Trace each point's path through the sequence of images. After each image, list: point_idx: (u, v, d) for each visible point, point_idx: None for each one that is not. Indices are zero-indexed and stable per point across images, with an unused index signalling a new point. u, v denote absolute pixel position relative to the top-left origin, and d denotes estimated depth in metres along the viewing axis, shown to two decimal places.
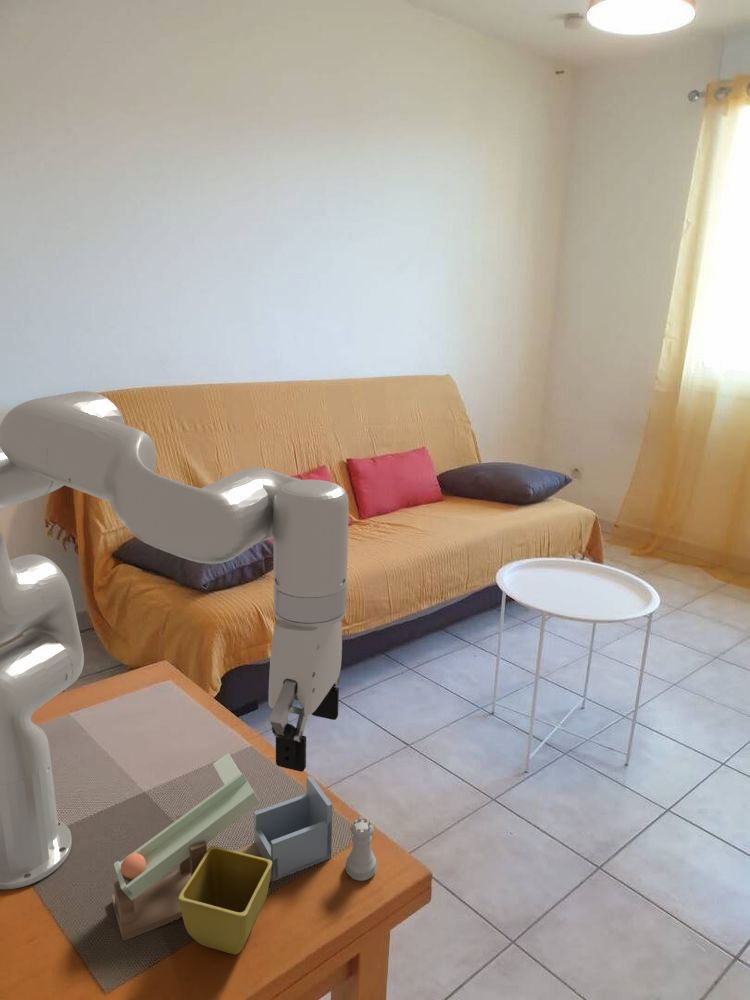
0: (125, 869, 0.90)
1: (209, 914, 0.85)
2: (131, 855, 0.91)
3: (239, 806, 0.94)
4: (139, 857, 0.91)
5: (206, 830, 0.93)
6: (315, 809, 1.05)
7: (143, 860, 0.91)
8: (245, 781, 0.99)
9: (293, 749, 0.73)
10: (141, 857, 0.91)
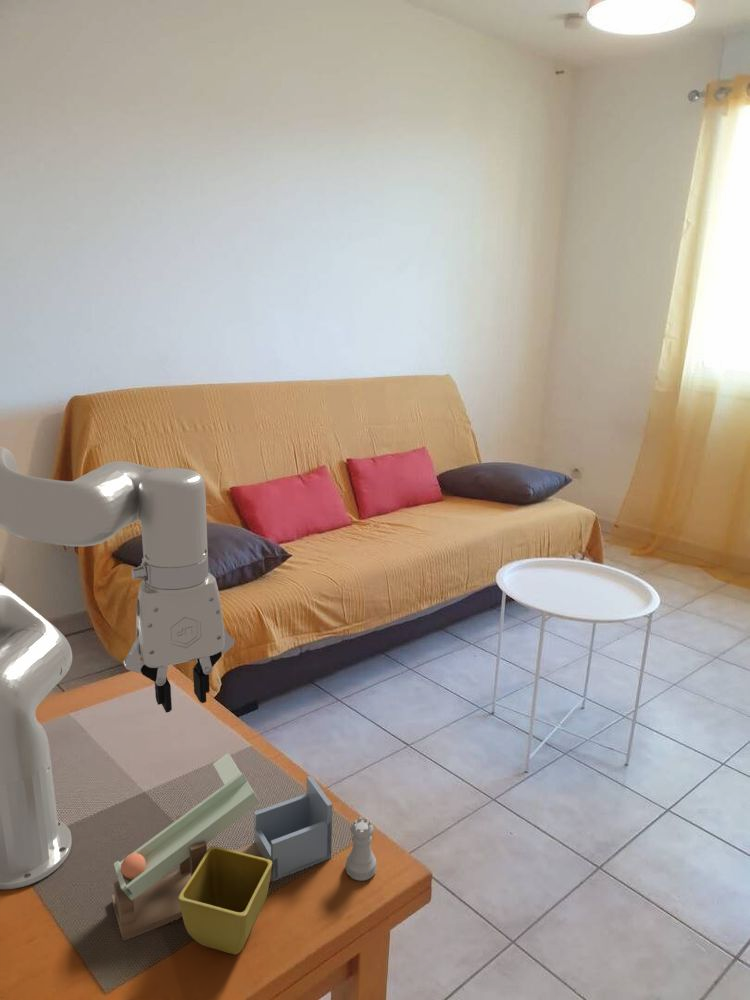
0: (125, 869, 0.90)
1: (209, 914, 0.85)
2: (131, 855, 0.91)
3: (239, 806, 0.94)
4: (139, 857, 0.91)
5: (206, 830, 0.93)
6: (315, 809, 1.05)
7: (143, 860, 0.91)
8: (245, 781, 0.99)
9: None
10: (141, 857, 0.91)
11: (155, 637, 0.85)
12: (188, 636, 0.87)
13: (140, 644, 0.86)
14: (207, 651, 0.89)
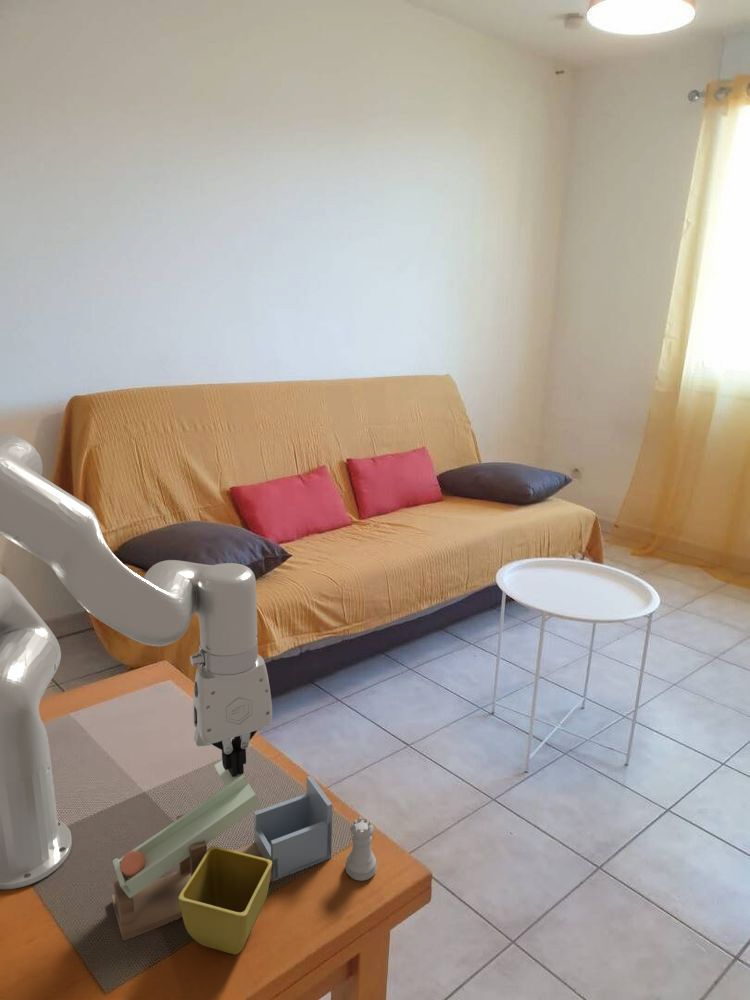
0: (125, 866, 0.90)
1: (209, 914, 0.85)
2: (131, 852, 0.91)
3: (241, 807, 0.94)
4: (139, 855, 0.91)
5: (207, 830, 0.93)
6: (315, 809, 1.05)
7: (143, 858, 0.91)
8: (247, 783, 0.99)
9: None
10: (141, 855, 0.91)
11: (212, 717, 0.94)
12: (241, 714, 0.97)
13: (198, 722, 0.95)
14: (257, 726, 0.98)
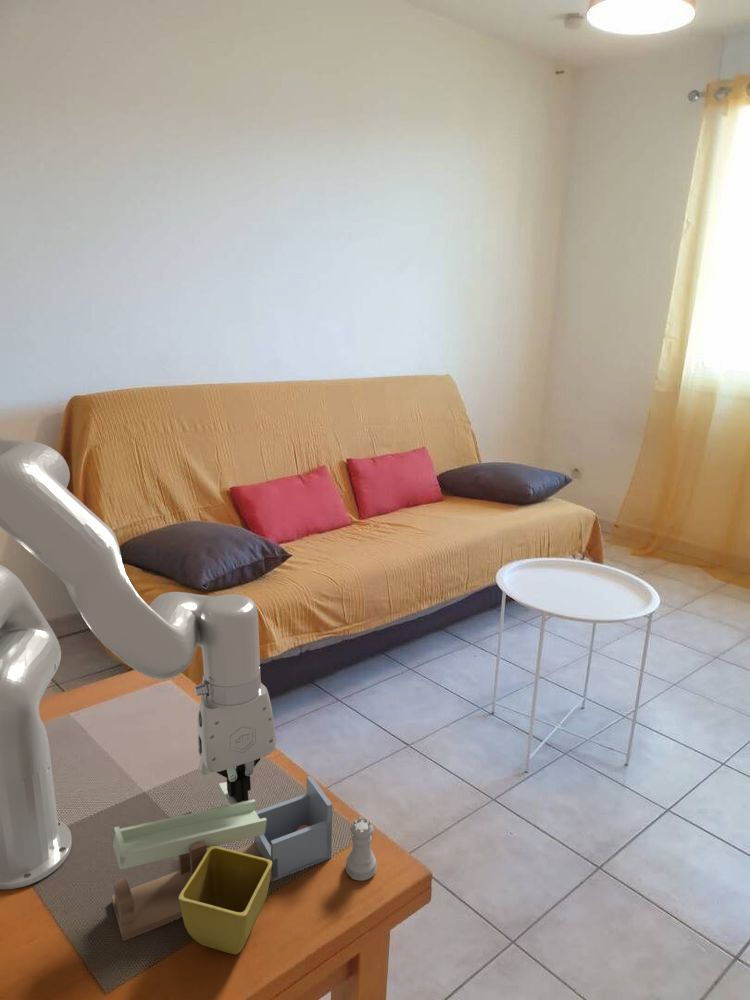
0: None
1: (209, 914, 0.85)
2: None
3: (249, 827, 0.96)
4: None
5: (214, 834, 0.93)
6: (315, 809, 1.05)
7: None
8: (253, 809, 1.01)
9: None
10: None
11: (216, 746, 0.96)
12: (244, 742, 0.98)
13: (203, 752, 0.97)
14: (261, 753, 1.00)
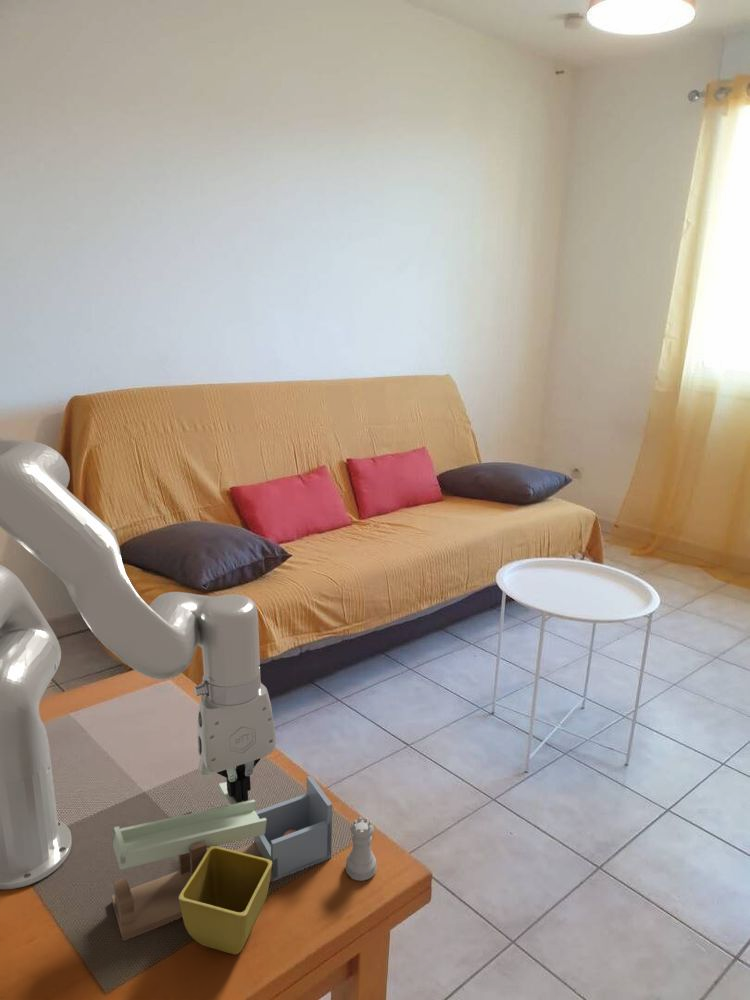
0: None
1: (209, 914, 0.85)
2: None
3: (249, 827, 0.96)
4: None
5: (214, 834, 0.93)
6: (315, 809, 1.05)
7: None
8: (253, 810, 1.01)
9: None
10: None
11: (216, 746, 0.96)
12: (244, 742, 0.98)
13: (202, 752, 0.97)
14: (261, 753, 1.00)
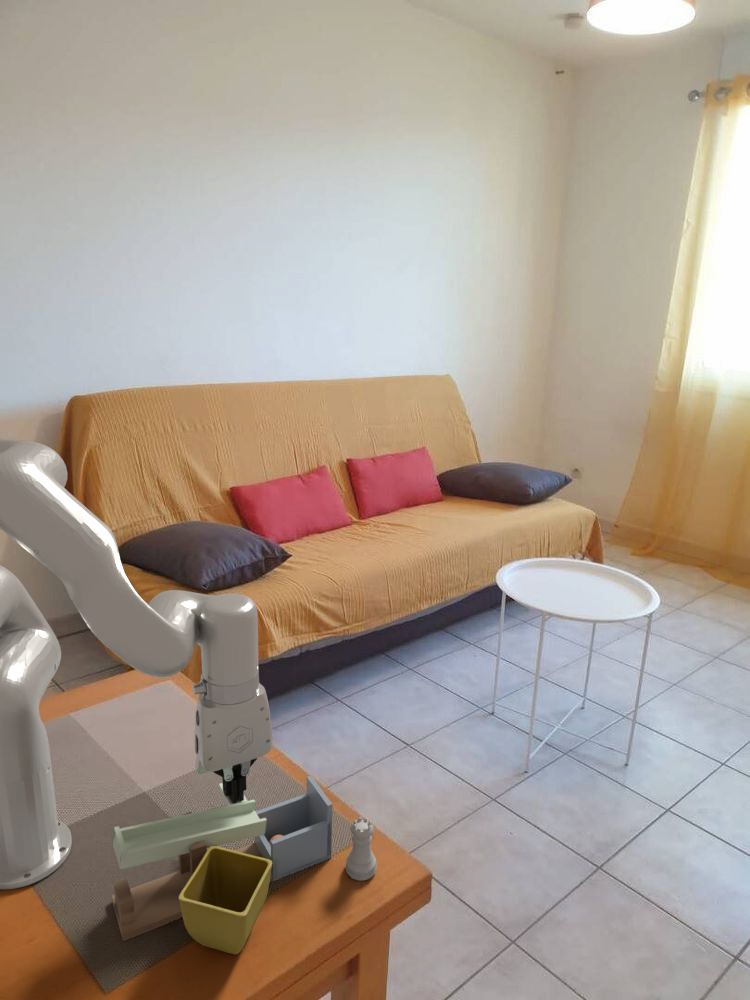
0: None
1: (209, 914, 0.85)
2: None
3: (249, 827, 0.96)
4: None
5: (214, 834, 0.93)
6: (315, 809, 1.05)
7: None
8: (253, 810, 1.01)
9: None
10: None
11: (213, 745, 0.96)
12: (241, 742, 0.98)
13: (199, 751, 0.96)
14: (257, 753, 1.00)
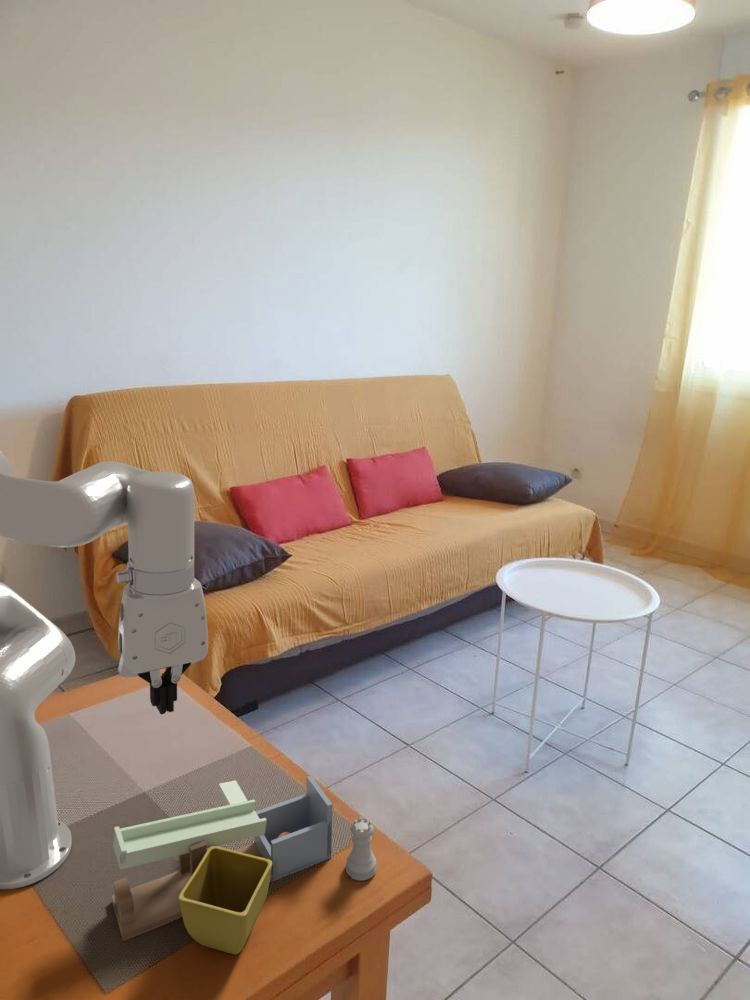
0: None
1: (209, 914, 0.85)
2: None
3: (249, 827, 0.96)
4: None
5: (214, 834, 0.93)
6: (315, 809, 1.05)
7: None
8: (253, 810, 1.01)
9: None
10: None
11: (139, 642, 0.84)
12: (172, 642, 0.86)
13: (123, 649, 0.85)
14: (190, 657, 0.88)
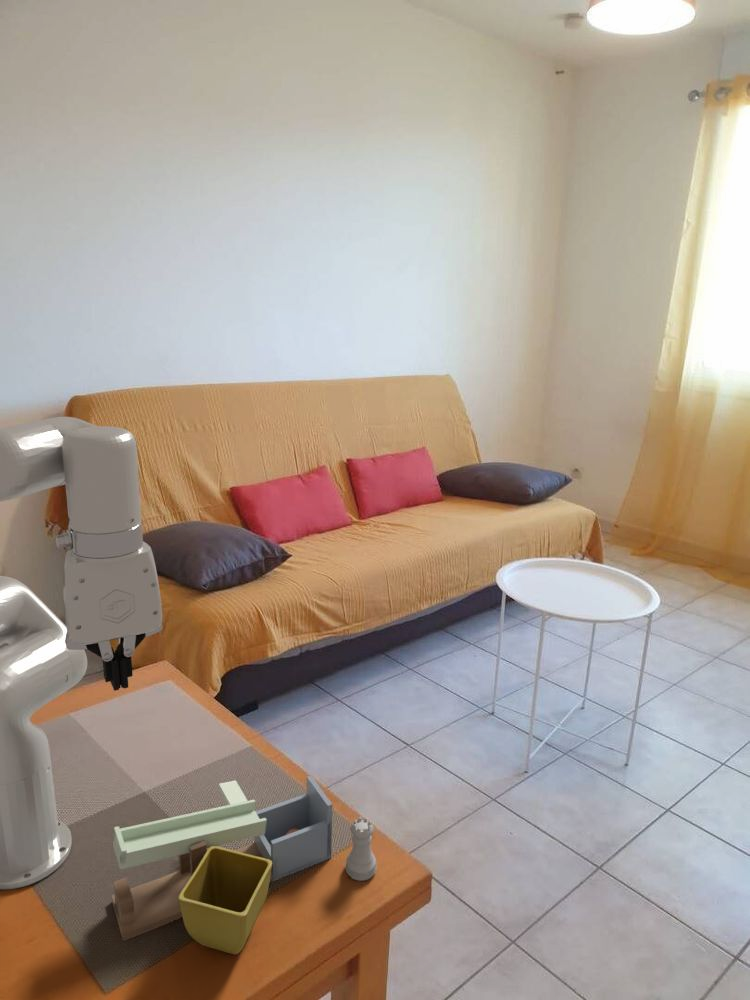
0: None
1: (209, 914, 0.85)
2: None
3: (249, 827, 0.96)
4: None
5: (214, 834, 0.93)
6: (315, 809, 1.05)
7: None
8: (253, 810, 1.01)
9: None
10: None
11: (82, 611, 0.78)
12: (120, 610, 0.80)
13: (66, 619, 0.79)
14: (142, 627, 0.82)
